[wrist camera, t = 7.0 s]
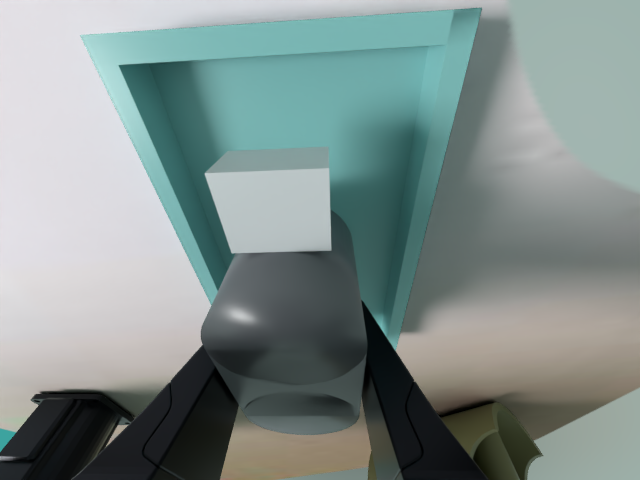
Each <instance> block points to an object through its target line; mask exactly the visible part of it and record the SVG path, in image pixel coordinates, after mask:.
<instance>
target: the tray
mask: <svg viewBox="0 0 640 480" xmlns="http://www.w3.org/2000/svg"><path fill="white" fill-rule="evenodd" d="M481 10H482V8H471V9H456V10H441V11H427V12H412V13H397V14H383V15H368V16H353V17H339V18H324V19H310V20H295V21H280V22H266V23H251V24H236V25H222V26H207V27H192V28H178V29H163V30H148V31H134V32H119V33H104V34H90V35H80V36H81V38H82V40H83V42H84V45H85V47H86V49H87V51H88V53H89V55H90V57H91V59H92V61H93V63H94V65H95V67H96V69H97V71H98V73H99V75H100V77H101V79H102V82H103V84H104V86H105V88H106V90H107V92H108V94H109V96H110V98H111V100H112V102H113V104H114V106H115V108H116V110H117V112H118V114H119V116H120V118H121V121H122V123H123V125H124V127H125V129H126V131H127V133H128V135H129V137H130V139H131V141H132V143H133V145H134V147H135V149H136V151H137V153H138V155H139V158H140V160H141V162H142V164H143V166H144V168H145V170H146V172H147V174H148V176H149V178H150V180H151V182H152V184H153V186H154V188H155V190H156V192H157V195H158V197H159V199H160V201H161V203H162V205H163V207H164V209H165V211H166V213H167V215H168V217H169V219H170V221H171V223H172V225H173V227H174V229H175V231H176V234H177V236H178V238H179V240H180V242H181V244H182V246H183V248H184V250H185V252H186V254H187V256H188V258H189V260H190V262H191V264H192V266H193V268H194V271H195V273H196V275H197V277H198V279H199V281H200V283H201V285H202V287H203V289H204V291H205V293H206V295H207V297H208V299H209V301H210V303H211V305H212V303H213V301H214V299H215V297H216V295H217V292H218V290H219V288H220V286H221V284H222V282H223V279H224V277H225V275H226V273H227V271H228V268H229V266H230V264H231V262H232V260H233V258H234V255H235V253H231V250H230V247H229V244H228V241H227V238H226V235H225V232H224V229H223V226H222V223H221V220H220V217H219V215H218V212H217V209H216V206H215V203H214V200H213V197H212V194H211V191H210V188H209V185H208V182H207V179H206V176H205V174H204V173H205V172H206V171H207V170H208V169H209V168H211V167H212V166H213V165H214V164H215V163H216V162H217V161H218V160H219V159H220V158H221V157H222V156H223V155H224V154H225V153H226V152H227V151H240V150H262V149H285V148H307V147H328V149H329V181H330V209H331V210H332V211H334V212H335V213H336V214H337V215H339V216H340V217H341V218H342V220H343V221H344V222H345V223H346V225H347V227H348V228H349V230H350V233H351V236H352V241H353V248H354V255H355V262H356V269H357V275H358V282H359V289H360V296H361V300H363V302H364V303H365V305H366V306H367V308H368V309H369V311H370V312H371V314H372V315H373V317H374V318H375V320H376V322H377V323H378V325H379V326H380V328H381V329H382V331H383V332H384V334H385V336H386V337H387V339H388V340H389V342H390V343H391V345H392V346H393V348H394V349H395V351H396V347H397V343H398V339H399V335H400V331H401V327H402V323H403V319H404V315H405V311H406V307H407V303H408V300H409V296H410V292H411V288H412V284H413V280H414V276H415V272H416V268H417V264H418V260H419V256H420V252H421V248H422V244H423V240H424V236H425V232H426V228H427V224H428V220H429V216H430V212H431V208H432V204H433V201H434V197H435V193H436V189H437V185H438V181H439V177H440V173H441V169H442V165H443V161H444V157H445V153H446V149H447V145H448V141H449V137H450V133H451V129H452V125H453V121H454V117H455V113H456V109H457V105H458V101H459V98H460V94H461V90H462V86H463V82H464V78H465V74H466V70H467V66H468V62H469V58H470V54H471V50H472V46H473V42H474V38H475V34H476V30H477V26H478V22H479V18H480V14H481Z"/></svg>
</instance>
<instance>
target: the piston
mask: <svg viewBox="0 0 640 480" xmlns="http://www.w3.org/2000/svg"><path fill="white" fill-rule="evenodd" d="M441 419H442V421H443V422H444V423H445V425H446V426H447V427H448V429H449V430H450V431H451V432H452V434H453V435H454V436H455V438H456V439H457V440H458V441H459V443H460V444H461V445H462V446H463V448H464V449H465V450H466V452H467V453H468V454H469V455H470V457H471V458H472V459H473V460H474V462H475V463H476V464H477V465H478V467H479V468H480V469H481V471H482V472H483V473H484V474H485V475H486V477H487V478H488V479H489V480H527V473H528V469H529V466H530V464H531V463H532V462H533V461H534V460H535V459H536V458H538V457H541V456H543V455H542V453H541V452H540V450H539V448H538V447H537V446H536V444H535V443H534V441H533V440H532V438H531V437H530V436H529V434H528V433H527V431H526V430H525V429H524V427H523V426H522V425H521V424H520V422H519V421H518V420H517V419H516V418H515V416H514V415H513V414H512V413H511V412H510V411H509V410H508V409H507V408H506V407H504V406H503V405H501V404H500V403H497V402H495V403H492V404H488V405H484V406H481V407H477V408H474V409H470V410H467V411H463V412H459V413H456V414H452V415H449V416H445V417H442V418H441ZM368 480H377V476H376V471H375V466H374V460H373V455H372V451H371V455H370V460H369V468H368Z"/></svg>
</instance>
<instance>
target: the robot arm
mask: <svg viewBox="0 0 640 480" xmlns="http://www.w3.org/2000/svg"><path fill="white" fill-rule="evenodd" d="M361 302H362V309H363V316H364V323H365V330H366V336H367V355H366V363H365V371H364V379H363V388H362V396H361V397H362V402H363V407H364V413H365V418H366V423H367V429H368V434H369V439H370V445H371V450H372V455H373V460H374V466H375V471H376V476H377V480H489V479H488V478H487V477H486V475H485V474H484V473H483V472H482V471H481V469H480V468H479V467H478V465H477V464H476V463H475V462H474V460H473V459H472V458H471V457H470V455H469V454H468V453H467V452H466V450H465V449H464V448H463V446H462V445H461V444H460V443H459V441H458V440H457V439H456V438H455V436H454V435H453V434H452V432H451V431H450V430H449V429H448V427H447V426H446V425H445V423H444V422H443V421H442V419H441V418H440V417H439V415H438V414H437V413H436V411H435V410H434V409H433V407H432V406H431V404H430V403H429V401H428V400H427V398H426V397H425V396H424V394H423V393H422V391H421V390H420V388H419V386H418V385H417V383H416V382H414V379H413V377H412V376H411V374H410V373H409V371H408V370H407V368H406V366H405V365H404V363H403V362H402V360H401V359H400V357H399V356H398V354H397V353H396V351H395V349H394V348H393V346H392V345H391V343H390V342H389V340H388V339H387V337H386V336H385V334H384V332H383V331H382V329H381V328H380V326H379V325H378V323H377V322H376V320H375V318H374V317H373V315H372V314H371V312H370V311H369V309H368V308H367V306H366V305H365V303H364V302H363V300H361ZM31 401H32V402H34V403H36V404H38V405H39V406H38V407H37V408H36V409H35V411H34V412H33V413H32V414H31V416H30V417H29V418H28V419H27V420H26V422H25V423H24V424H23V425H22V426H21V428H20V429H19V430H18V431H17V433H16V434H15V435H14V436H13V437H12V439H11V440H10V441H9V442H8V444H7V445H6V446H5V447H4V448H3V450H2V451H1V452H0V480H220V476H221V472H222V468H223V465H224V461H225V457H226V453H227V449H228V445H229V441H230V437H231V433H232V430H233V426H234V422H235V418H236V414H237V410H238V406H239V404H238V403H237V401H236V399H235V398H234V396H233V394H232V393H231V391H230V389H229V388H228V386H227V385H226V383H225V381H224V380H223V378H222V376H221V375H220V373H219V371H218V370H217V368H216V366H215V365H214V363H213V362H212V360H211V358H210V357H209V355H208V353H207V352H206V350H205V348H204V346H203V345H202V346H201V347H200V348H199V350H198V351H197V352H196V353H195V354H194V355H193V356H192V357H191V359H190V360H189V361H188V362H187V363H186V364H185V365H184V366H183V367H182V369H181V370H180V371H179V372H178V373H177V374H176V375H175V376H174V378H173V379H172V380H171V383H168V384H167V385H166V386H165V387H164V389H163V390H162V391H161V392H160V393H159V394H158V395H157V396H156V397H155V398H154V400H153V401H152V402H151V403H150V404H149V405H148V406H147V407H146V408H145V409H144V410H143V411H142V412H141V413H140V414H139V415H138V416H137V417H136V418H135V419H134V418H133V417H132V416H130V415H129V414H127V413H126V412H125V411H123V410H122V409H121V408H119V407H118V406H117V405H115V404H114V403H113V402H111V401H110V400H108V399H107V398H106V397H104V396H103V395H99V394H35V395H34V396H33V398H32V399H31ZM118 425H128V426H127V427H126V428H125V429H124V430H123V431H122V432H121V433H120V434H119V435H118V436H117V437H116V438H115V439H114V440H113V441H112V442H111V443H110V444H109V445H108V446H107V447H106V445H107V443H108V441H109V440H110V438H111V436H112V434H113V433H114V431H115V429H116V427H117V426H118ZM105 447H106V448H105Z"/></svg>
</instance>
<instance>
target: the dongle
mask: <svg viewBox="0 0 640 480" xmlns="http://www.w3.org/2000/svg"><path fill="white" fill-rule="evenodd" d="M204 174H205V176H206V179H207V182H208V185H209V188H210V191H211V194H212V197H213V200H214V203H215V206H216V209H217V212H218V215H219V217H220V220H221V223H222V226H223V229H224V232H225V235H226V238H227V241H228V244H229V247H230V250H231V253H235V255H234V258H233V260H232V262H231V264H230V266H229V268H228V271H227V273H226V275H225V277H224V279H223V282H222V284H221V286H220V288H219V290H218V292H217V295H216V297H215V299H214V301H213V303H212V306H211V308H210V310H209V312H208V314H207V316H206V319H205V321H204V323H203V325H202V329H201V340H202V344H203V346H204V348H205V350H206V352H207V353H208V355H209V357H210V358H211V360H212V362H213V363H214V365H215V366H216V368H217V370H218V371H219V373H220V375H221V376H222V378H223V380H224V381H225V383H226V385H227V386H228V388H229V389H230V391H231V393H232V394H233V396H234V398H235V399H236V401H237V403H238V404H239V406H240V407H241V409H242V411H243V412H244V414H245V416H246V417H247V418H248V419H249V420H250V421H251V422H253V423H254V424H256V425H258V426H260V427H263V428H265V429H268V430H272V431H276V432H281V433H287V434H297V435H317V434H327V433H332V432H337V431H340V430H343V429H346V428H348V427H350V426H352V425H353V424H354V423H356V422H357V420H358V418H359V412H360V404H361V396H362V388H363V379H364V371H365V363H366V355H367V336H366V330H365V323H364V316H363V309H362V302H361V296H360V289H359V282H358V275H357V269H356V262H355V255H354V248H353V241H352V236H351V233H350V230H349V228H348V227H347V225H346V223H345V222H344V221H343V220H342V218H341V217H340V216H339V215H337V214H336V213H335V212H334V211H332V210H331V209H330V181H329V149H328V147H307V148H285V149H262V150H240V151H227V152H226V153H225V154H224V155H223V156H222V157H221V158H220V159H219V160H218V161H217V162H216V163H215V164H214V165H213V166H212V167H211V168H209V169H208V170H207V171H206V172H205V173H204Z"/></svg>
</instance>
